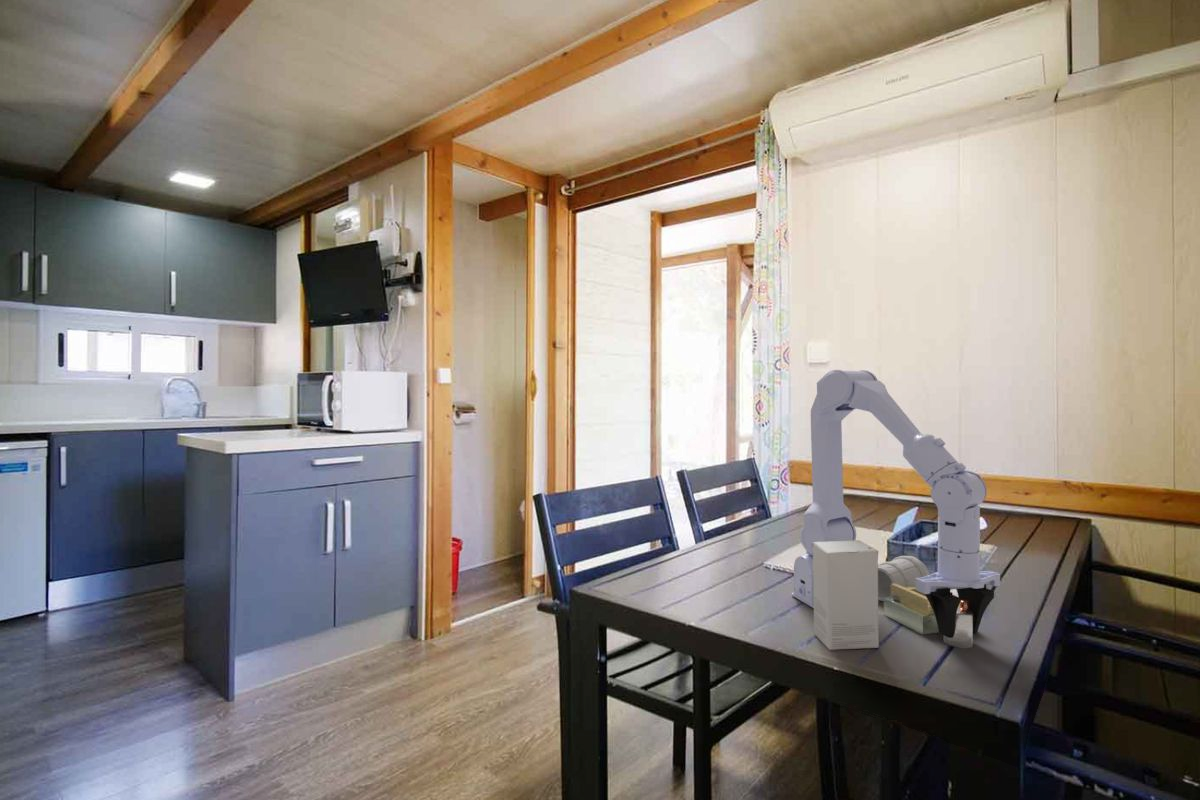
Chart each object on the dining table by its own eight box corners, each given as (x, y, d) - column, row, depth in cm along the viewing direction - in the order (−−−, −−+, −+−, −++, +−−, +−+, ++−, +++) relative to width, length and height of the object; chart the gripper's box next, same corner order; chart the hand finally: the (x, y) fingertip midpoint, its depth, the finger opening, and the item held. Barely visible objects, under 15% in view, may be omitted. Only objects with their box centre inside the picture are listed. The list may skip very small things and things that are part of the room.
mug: (938, 591, 113) (897, 605, 108) (887, 597, 123) (847, 611, 117) (922, 551, 116) (882, 563, 110) (873, 560, 125) (834, 571, 120)
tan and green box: (922, 634, 98) (922, 601, 98) (883, 614, 107) (883, 583, 107) (971, 628, 101) (972, 595, 101) (929, 609, 109) (930, 579, 109)
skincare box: (861, 633, 99) (861, 539, 99) (881, 650, 92) (881, 550, 92) (811, 633, 99) (811, 540, 98) (827, 651, 92) (828, 550, 92)
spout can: (958, 649, 93) (958, 607, 92) (937, 638, 96) (937, 598, 96) (978, 646, 94) (979, 605, 94) (957, 636, 98) (957, 596, 97)
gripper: (941, 559, 89) (940, 649, 89) (1018, 551, 93) (1017, 638, 93) (905, 546, 96) (905, 631, 96) (978, 540, 100) (978, 621, 100)
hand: (957, 633), depth 95 cm, fingers closed on spout can, 4 cm apart
